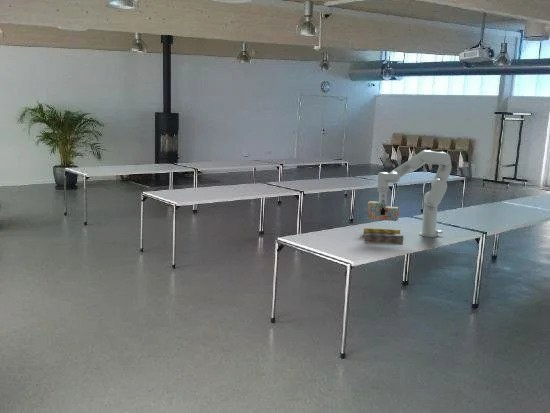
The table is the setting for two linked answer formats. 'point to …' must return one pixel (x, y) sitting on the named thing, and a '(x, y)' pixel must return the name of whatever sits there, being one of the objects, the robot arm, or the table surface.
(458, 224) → the table surface
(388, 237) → the dock
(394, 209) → the stack of blocks
